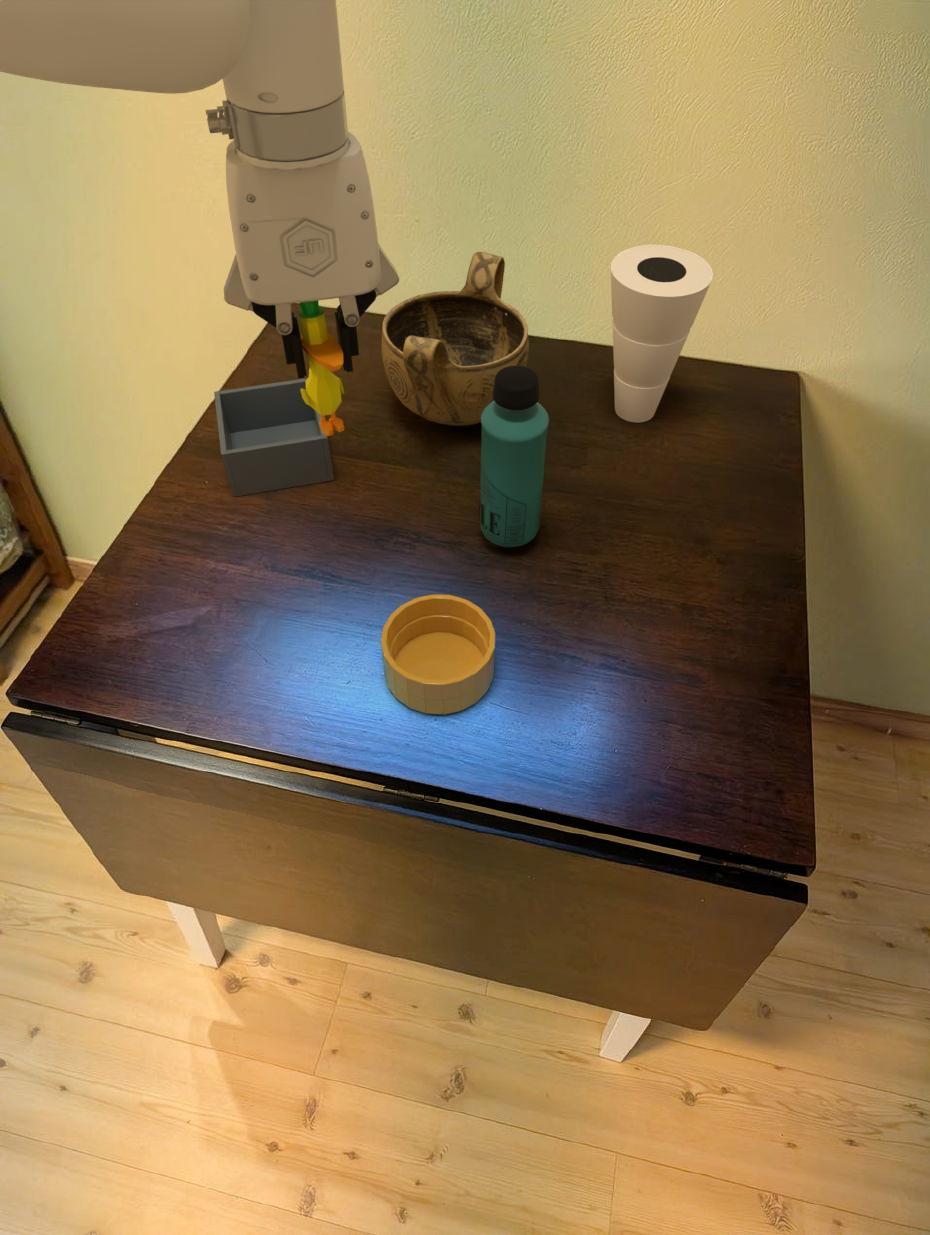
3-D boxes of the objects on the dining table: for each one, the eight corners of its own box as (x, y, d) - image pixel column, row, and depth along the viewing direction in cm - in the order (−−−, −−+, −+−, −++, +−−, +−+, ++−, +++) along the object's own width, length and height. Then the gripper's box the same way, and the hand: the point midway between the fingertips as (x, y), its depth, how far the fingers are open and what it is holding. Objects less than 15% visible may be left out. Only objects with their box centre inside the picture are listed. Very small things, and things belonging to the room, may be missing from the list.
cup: (619, 447, 98) (645, 305, 84) (575, 396, 104) (592, 256, 90) (696, 424, 101) (733, 283, 87) (648, 375, 107) (676, 236, 93)
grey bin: (233, 497, 93) (221, 454, 88) (225, 434, 100) (213, 391, 95) (334, 480, 94) (327, 437, 90) (320, 419, 101) (313, 377, 97)
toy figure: (368, 442, 73) (353, 317, 64) (331, 457, 72) (311, 331, 63) (333, 402, 77) (314, 278, 68) (297, 415, 76) (273, 291, 66)
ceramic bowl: (488, 481, 94) (492, 365, 83) (352, 445, 98) (337, 329, 87) (549, 372, 108) (560, 258, 96) (427, 343, 111) (423, 232, 100)
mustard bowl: (397, 726, 74) (393, 694, 70) (376, 639, 80) (371, 605, 76) (506, 703, 76) (508, 670, 72) (477, 619, 82) (478, 585, 78)
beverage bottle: (550, 530, 90) (568, 368, 74) (519, 569, 86) (531, 407, 70) (497, 507, 92) (505, 345, 76) (465, 544, 88) (465, 382, 73)
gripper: (161, 158, 52) (225, 406, 66) (423, 135, 54) (430, 379, 68) (160, 111, 56) (220, 352, 71) (402, 92, 59) (412, 329, 73)
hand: (323, 363), depth 69 cm, fingers closed on toy figure, 3 cm apart
